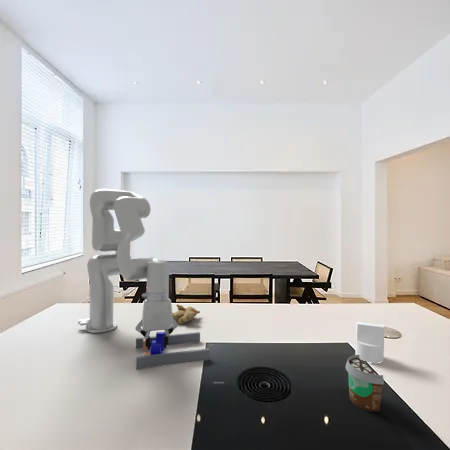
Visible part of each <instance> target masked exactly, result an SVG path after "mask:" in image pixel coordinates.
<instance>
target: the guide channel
mask: <svg viewBox="0 0 450 450" xmlns="http://www.w3.org/2000/svg"><path fill="white" fill-rule="evenodd" d="M152 340H156V335H155V336H150V348H151V343H152ZM200 342H201V332H200V331H197V332H196V331H195V332H187V333H175V334H170V335H169V336H168V345H166V347H167V346H173V345H174V346H175V345H185V344H194V343H200ZM135 349H136V350H137V349H142V351H143V352H144V353H143V355H138V356H135V358H136V359H135V360H136V361H135V362H136V363H135V364H136V365H135V369H136V370H139V369H148V367H149V368H154V367H156V366H157V367H163V366H164V365H165V366H172V365H173V366H174V365H179V364H181V365H182V364H187V363H188V364H189V363H195V362H205V361H210V360H211V358H210V354H211V353H210V351H211V349H210V347H209V348H199V349H193V350H183V351H182V350H181V351H173V352H165V353H164V352H163V354H154V355H151V353H150V351H149V350H148V347H146V338H145V337H144V336H142V337H136V338H135ZM157 367H156V368H157Z"/></svg>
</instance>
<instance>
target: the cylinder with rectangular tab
mask: <svg viewBox="0 0 450 450" xmlns="http://www.w3.org/2000/svg"><path fill="white" fill-rule="evenodd" d="M355 324H356V325H355V354H354V355H359V358H360V359H361V360H363V361H366V362H371V363H378V362H381V361H383V362H384V355H385V353H384V352H385V351H384V350H385V349H384V348H385V325H384V324H383V323H382V324H381V323H373V322H365V321H356V323H355ZM366 362H365V363H366Z"/></svg>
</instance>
